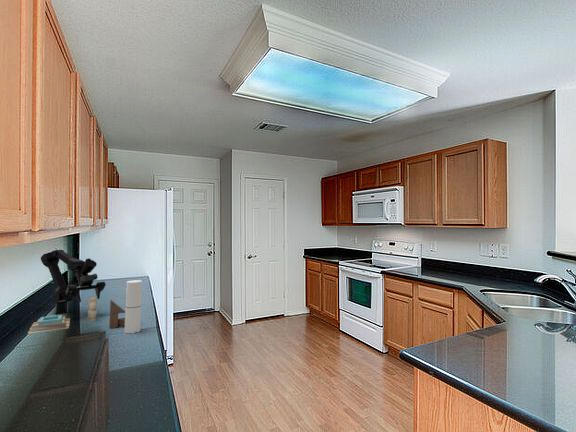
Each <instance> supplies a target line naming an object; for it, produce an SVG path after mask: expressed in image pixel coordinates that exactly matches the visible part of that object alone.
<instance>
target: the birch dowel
mask: <svg viewBox="0 0 576 432" xmlns="http://www.w3.org/2000/svg"><path fill="white" fill-rule="evenodd" d="M87 301H88V303H87V322H95V321H96V320H97V308H98V307H97V305H98V298H97V296H90V297H88V299H87Z"/></svg>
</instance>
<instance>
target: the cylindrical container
mask: <svg viewBox="0 0 576 432" xmlns="http://www.w3.org/2000/svg"><path fill="white" fill-rule="evenodd" d="M125 290H126V291H125V305H126V308H125V309H124V311H125V313H124V318H125V326H124V334H127V333H131V334H136V333H135V332H137V333H139V332H141V324H142V323H141V321H142V320H141V319H142V318H141V317H142V298H143V297H142V295H143V294H142V293H143V280H142V279H141V280H140V279H136V280H135V279H134V280H133V279H132V280H127V281H126V287H125Z"/></svg>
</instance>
